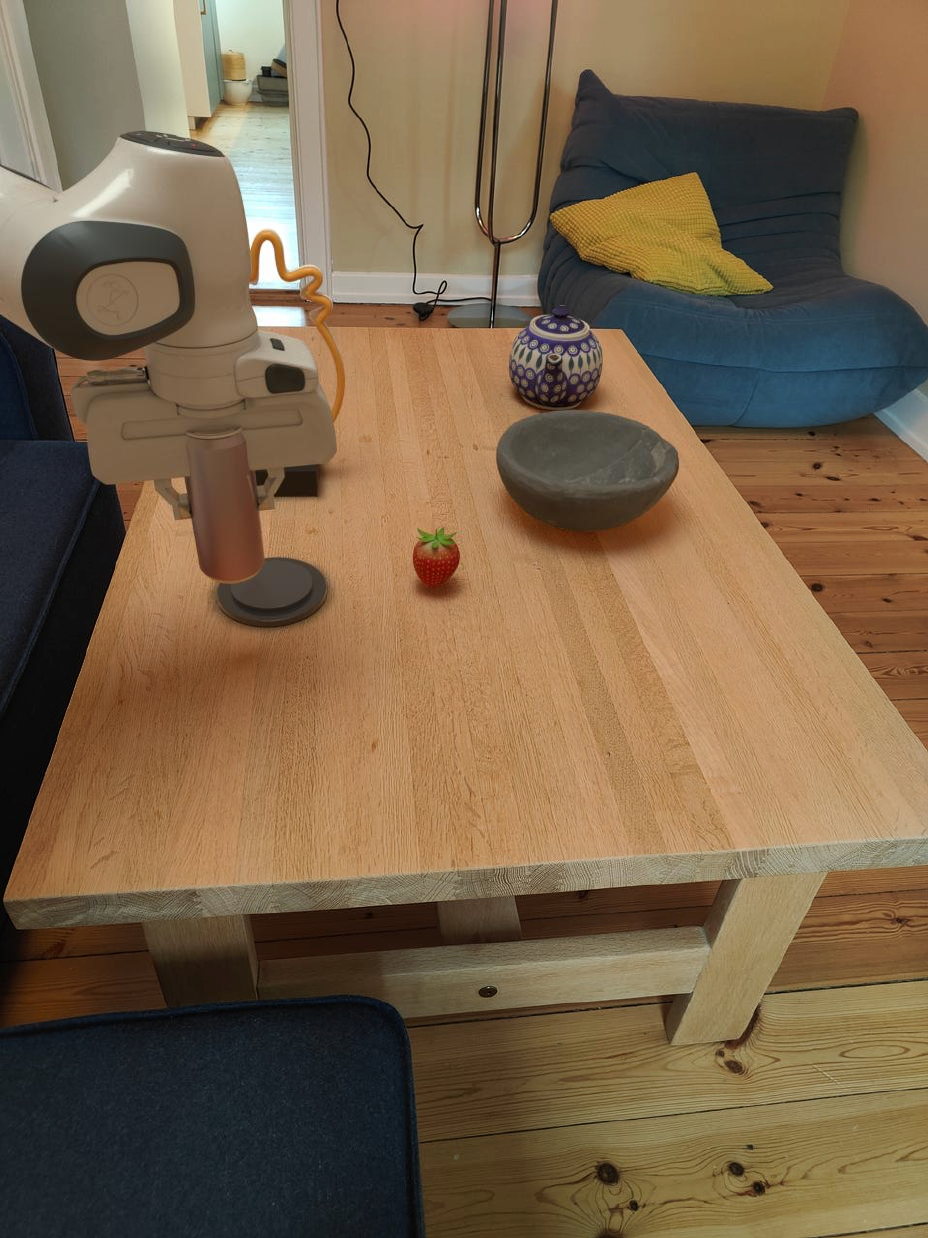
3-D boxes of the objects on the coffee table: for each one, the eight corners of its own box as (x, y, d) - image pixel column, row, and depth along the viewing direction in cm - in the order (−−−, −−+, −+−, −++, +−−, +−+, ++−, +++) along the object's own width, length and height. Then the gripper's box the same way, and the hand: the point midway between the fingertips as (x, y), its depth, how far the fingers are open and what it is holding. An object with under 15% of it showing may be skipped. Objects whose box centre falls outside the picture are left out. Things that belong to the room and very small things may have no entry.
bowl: (567, 453, 126) (577, 389, 120) (696, 516, 114) (714, 448, 108) (455, 505, 113) (459, 435, 107) (587, 582, 101) (600, 509, 95)
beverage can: (206, 549, 83) (182, 404, 73) (268, 550, 83) (253, 406, 74) (194, 586, 78) (168, 436, 69) (261, 586, 79) (244, 437, 69)
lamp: (218, 496, 111) (181, 239, 92) (226, 463, 118) (193, 218, 99) (348, 496, 113) (339, 244, 94) (348, 463, 120) (340, 222, 100)
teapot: (517, 363, 152) (526, 277, 143) (602, 374, 150) (615, 288, 141) (493, 423, 132) (501, 328, 123) (590, 437, 131) (605, 341, 121)
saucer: (222, 634, 90) (221, 624, 89) (213, 569, 99) (211, 560, 98) (335, 617, 93) (335, 607, 92) (317, 556, 102) (316, 547, 101)
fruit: (432, 568, 102) (434, 510, 97) (466, 586, 99) (470, 527, 94) (401, 587, 98) (402, 528, 93) (436, 606, 96) (438, 547, 91)
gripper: (62, 388, 63) (102, 544, 72) (337, 369, 69) (343, 517, 77) (66, 356, 68) (103, 506, 77) (323, 340, 73) (330, 482, 82)
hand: (225, 511), depth 77 cm, fingers closed on beverage can, 6 cm apart
